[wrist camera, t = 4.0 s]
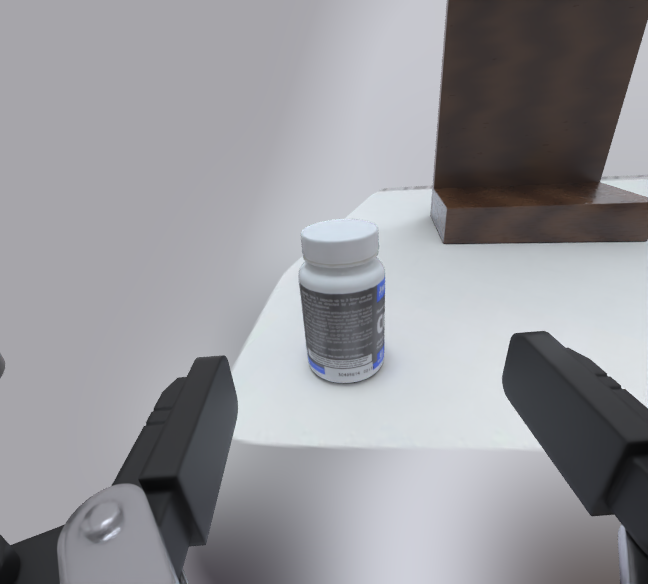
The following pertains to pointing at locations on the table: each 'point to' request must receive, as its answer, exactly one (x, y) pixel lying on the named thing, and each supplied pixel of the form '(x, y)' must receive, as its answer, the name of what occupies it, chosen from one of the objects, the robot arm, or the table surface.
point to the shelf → (534, 121)
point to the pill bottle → (343, 299)
